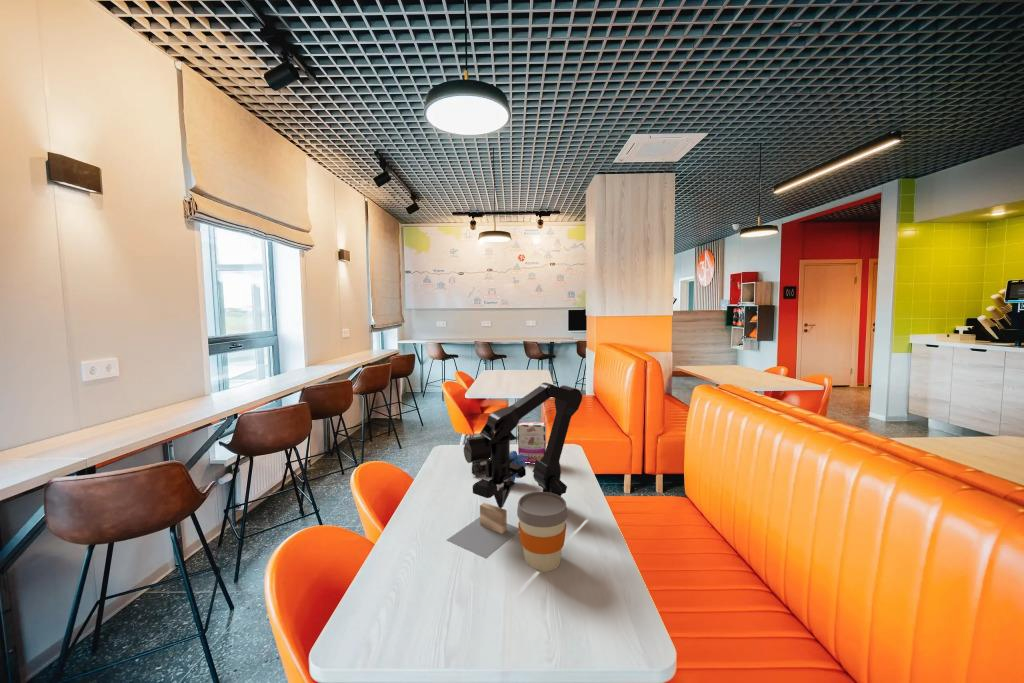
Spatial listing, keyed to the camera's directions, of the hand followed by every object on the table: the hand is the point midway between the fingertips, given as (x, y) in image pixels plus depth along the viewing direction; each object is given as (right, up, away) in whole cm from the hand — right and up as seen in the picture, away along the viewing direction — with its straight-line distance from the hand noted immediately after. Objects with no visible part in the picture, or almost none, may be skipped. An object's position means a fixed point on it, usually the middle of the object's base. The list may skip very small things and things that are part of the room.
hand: (500, 507), depth 116 cm
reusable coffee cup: (+11, -7, -16) cm, 21 cm away
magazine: (-8, -1, +48) cm, 48 cm away
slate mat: (-4, -6, -6) cm, 9 cm away
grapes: (+3, -3, +28) cm, 29 cm away
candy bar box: (+12, -1, +46) cm, 48 cm away
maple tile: (-2, -5, -3) cm, 6 cm away
